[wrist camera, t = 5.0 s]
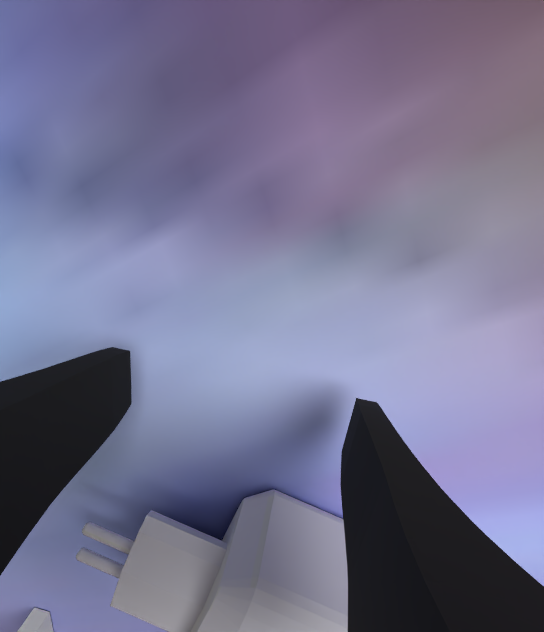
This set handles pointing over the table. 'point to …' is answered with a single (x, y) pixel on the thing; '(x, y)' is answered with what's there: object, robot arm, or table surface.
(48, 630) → the box
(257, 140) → the table surface
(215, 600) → the charger
